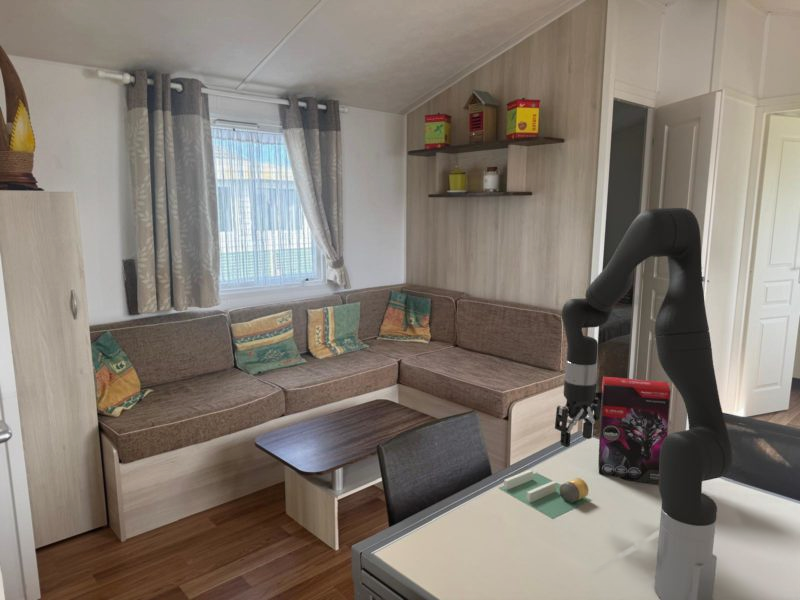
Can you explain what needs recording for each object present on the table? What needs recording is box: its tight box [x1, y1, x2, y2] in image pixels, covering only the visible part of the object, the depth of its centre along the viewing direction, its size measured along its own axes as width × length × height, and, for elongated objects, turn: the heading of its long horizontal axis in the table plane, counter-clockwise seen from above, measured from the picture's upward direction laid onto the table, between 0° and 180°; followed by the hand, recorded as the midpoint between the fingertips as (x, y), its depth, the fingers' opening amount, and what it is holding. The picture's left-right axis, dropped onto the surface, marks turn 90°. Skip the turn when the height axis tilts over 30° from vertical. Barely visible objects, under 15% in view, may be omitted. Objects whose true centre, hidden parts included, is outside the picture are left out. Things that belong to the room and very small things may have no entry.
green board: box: [498, 472, 592, 520], centre depth 145 cm, size 18×15×1 cm
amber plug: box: [560, 477, 589, 503], centre depth 142 cm, size 5×5×5 cm
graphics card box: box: [597, 376, 672, 485], centre depth 155 cm, size 17×7×27 cm, turn 73°
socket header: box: [503, 469, 557, 503], centre depth 147 cm, size 9×10×2 cm
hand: (576, 441), depth 140 cm, fingers open, 8 cm apart
